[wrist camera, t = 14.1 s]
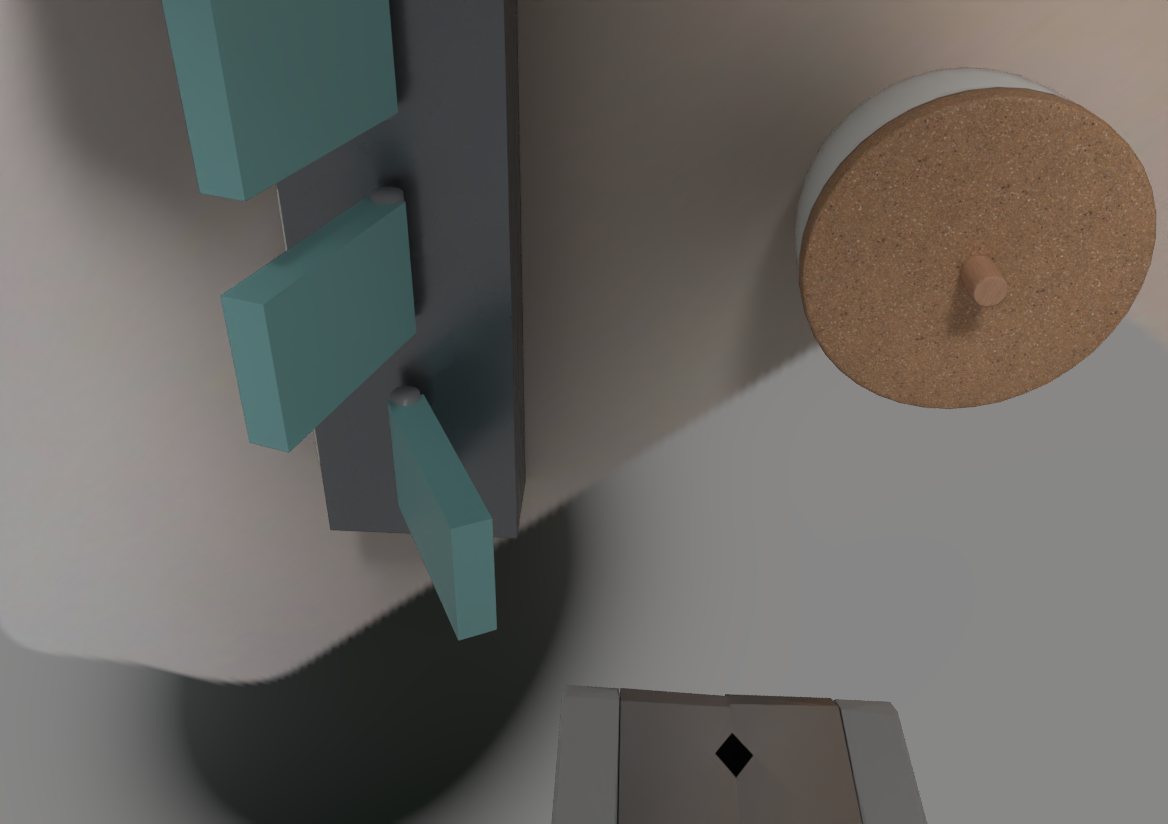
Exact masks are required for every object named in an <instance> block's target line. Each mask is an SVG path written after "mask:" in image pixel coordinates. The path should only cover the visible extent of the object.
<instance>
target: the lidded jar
mask: <svg viewBox="0 0 1168 824" xmlns="http://www.w3.org/2000/svg"><path fill="white" fill-rule="evenodd" d="M795 236H796V260H797V265H798V270H799V286H800V291H801V297H802V302H803V307H804V311H805V314H806V317H807V320H808V322H809V325H810V327H811V330H812V332H813V335H814V337H815V339H816V340H817V342H818V343H819V345H820V347H821V348H822V350H823V351H824V353H825V355H826V356H827V357H828V358H829V359H830V360H831V361H832V362H833V363H834V364H835V366H836V367H837V368H838V369H839V370H840V371H841V372H843V373H844V374H845V375H846V376H848V377H849V378H851V379H852V380H853V381H854V382H855V383H857V384H858V385H860V386H862V387H864V388H866V389H868V390H869V391H871V392H873V393H875V394H877V395H879V396H882V397H885V398H888V399H891V400H894V401H897V402H899V403H904V404H909V405H914V406H919V407H929V408H945V409H953V408H965V407H976V406H981V405H986V404H991V403H997V402H1001V401H1004V400H1007V399H1010V398H1013V397H1016V396H1019V395H1022V394H1024V393H1027V392H1029V391H1032V390H1034V389H1036V388H1038V387H1041V386H1043V385H1045V384H1047V383H1049V382H1051V381H1053V380H1054V379H1056V378H1057V377H1059V376H1060V375H1062V374H1064V373H1065V372H1067V371H1068V370H1070V369H1072V368H1073V367H1074V366H1076V365H1077V364H1078V363H1079V362H1081V361H1082V360H1083V359H1085V358H1086V357H1087V356H1088V355H1090V354H1091V353H1092V352H1093V351H1095V349H1096V348H1097V347H1098V346H1099V345H1100V344H1101V343H1102V342H1103V341H1104V340H1105V339H1106V338H1107V337H1108V336H1109V335H1110V334H1111V333H1112V332H1113V330H1114V329H1115V328H1116V327H1117V325H1118V324H1119V323H1120V321H1121V320H1122V319H1123V318H1124V316H1125V315H1126V314H1127V312H1128V311H1129V309H1130V307H1131V305H1132V304H1133V302H1134V300H1135V298H1136V296H1137V295H1138V293H1139V291H1140V289H1141V287H1142V285H1143V282H1144V280H1145V277H1146V274H1147V272H1148V269H1149V266H1150V264H1151V259H1152V254H1153V249H1154V244H1155V239H1156V209H1155V203H1154V197H1153V192H1152V187H1151V185H1150V182H1149V180H1148V177H1147V175H1146V172H1145V170H1144V167H1143V165H1142V163H1141V162H1140V160H1139V159H1138V157H1137V156H1136V154H1135V153H1134V151H1133V150H1132V148H1131V147H1130V145H1129V144H1128V143H1127V142H1126V141H1125V140H1124V139H1123V138H1122V137H1121V136H1120V135H1119V134H1118V133H1117V132H1116V131H1115V130H1114V129H1113V128H1112V127H1111V126H1110V125H1109V124H1107V123H1106V122H1105V121H1104V120H1102V119H1101V118H1099V117H1098V116H1096V115H1095V114H1093V113H1091V112H1090V111H1088V110H1087V109H1085V108H1084V107H1082V106H1081V105H1079V104H1076V103H1074V102H1072V101H1071V100H1069V99H1068V98H1066V97H1065V96H1063V95H1062V94H1060V93H1059V92H1057V91H1056V90H1054V89H1052V88H1050V87H1047V86H1045V85H1042V84H1040V83H1038V82H1035V81H1033V80H1030V79H1028V78H1025V77H1023V76H1021V75H1018V74H1013V73H1008V72H1004V71H999V70H994V69H986V68H968V67H958V68H949V69H939V70H934V71H930V72H926V73H922V74H919V75H915V76H912V77H909V78H907V79H905V80H902V81H900V82H897V83H895V84H893V85H890V86H888V87H887V88H885V89H883V90H882V91H880V92H878V93H877V94H875V95H873V96H872V97H870V98H868V99H867V100H866V101H864V102H863V103H862V104H861V105H859V106H858V107H857V108H856V109H854V110H853V111H852V112H851V113H849V114H848V115H847V116H846V118H845V119H844V120H843V121H842V122H841V123H840V124H839V125H838V126H837V127H836V128H835V129H834V130H833V131H832V133H831V134H830V135H829V137H828V138H827V140H826V141H825V142H824V144H823V145H822V147H821V148H820V149H819V151H818V153H817V155H816V157H815V159H814V161H813V163H812V165H811V167H810V169H809V171H808V174H807V177H806V180H805V183H804V186H803V189H802V192H801V195H800V199H799V204H798V210H797V217H796V231H795Z"/></svg>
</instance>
